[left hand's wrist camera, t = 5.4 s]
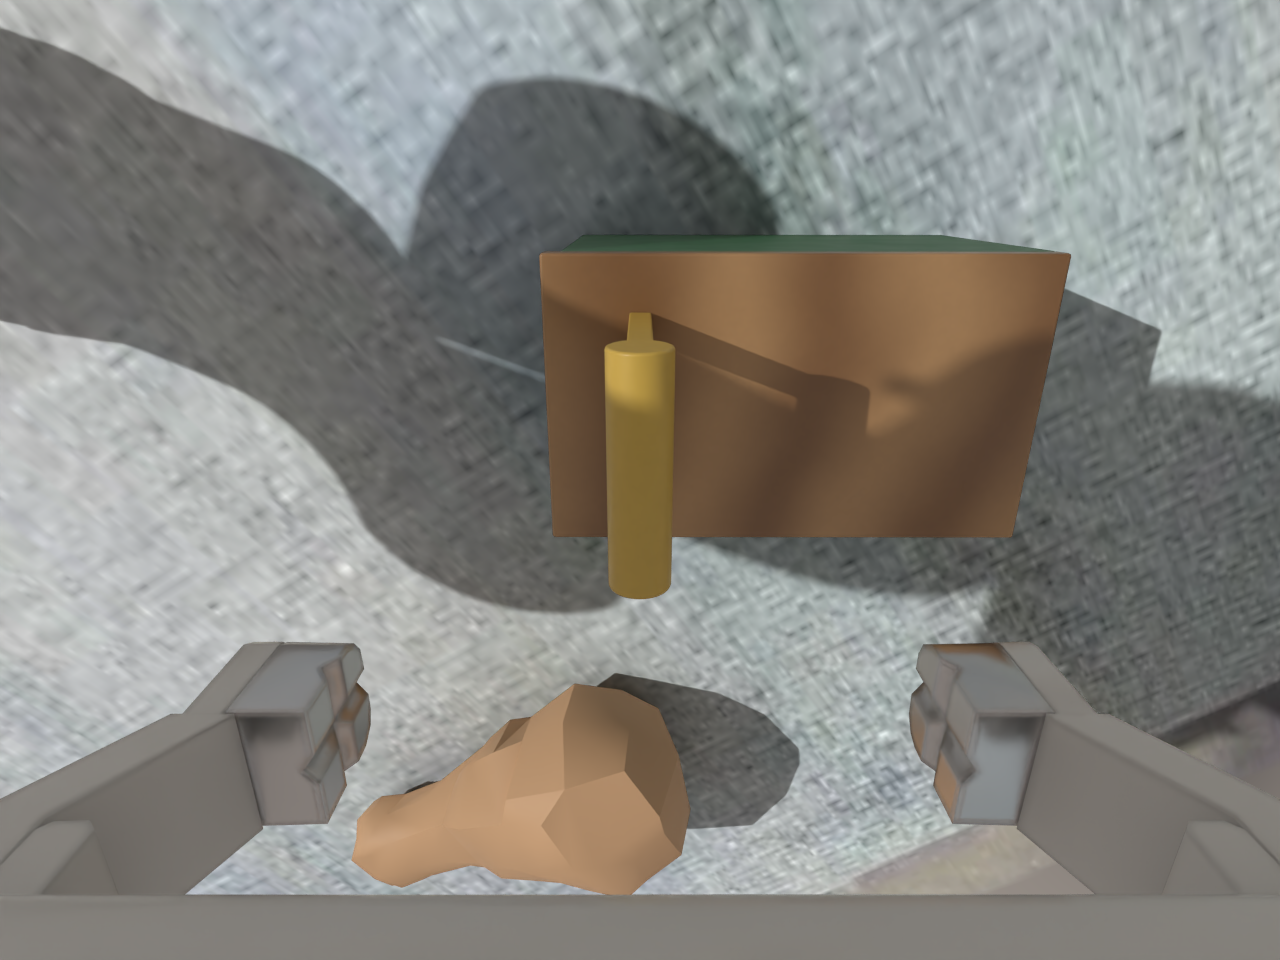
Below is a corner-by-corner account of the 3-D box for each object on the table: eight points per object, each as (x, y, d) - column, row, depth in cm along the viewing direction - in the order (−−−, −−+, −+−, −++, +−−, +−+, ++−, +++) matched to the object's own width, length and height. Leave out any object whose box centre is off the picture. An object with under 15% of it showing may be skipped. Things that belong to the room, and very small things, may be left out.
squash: (722, 752, 43) (734, 911, 36) (452, 831, 49) (413, 982, 41) (635, 636, 38) (627, 794, 30) (345, 740, 44) (278, 894, 36)
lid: (555, 527, 27) (522, 653, 20) (542, 251, 23) (496, 277, 16) (1001, 527, 27) (1138, 654, 20) (1058, 251, 23) (1251, 278, 16)
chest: (588, 443, 36) (570, 527, 27) (582, 234, 32) (559, 251, 23) (911, 443, 36) (1001, 527, 27) (941, 235, 32) (1057, 251, 23)
